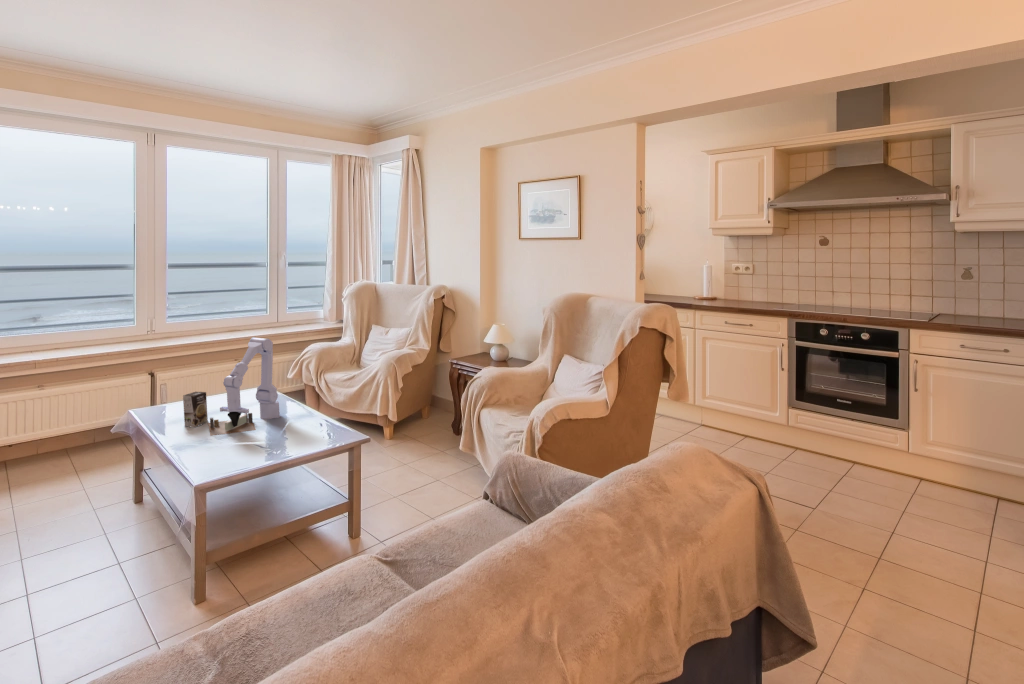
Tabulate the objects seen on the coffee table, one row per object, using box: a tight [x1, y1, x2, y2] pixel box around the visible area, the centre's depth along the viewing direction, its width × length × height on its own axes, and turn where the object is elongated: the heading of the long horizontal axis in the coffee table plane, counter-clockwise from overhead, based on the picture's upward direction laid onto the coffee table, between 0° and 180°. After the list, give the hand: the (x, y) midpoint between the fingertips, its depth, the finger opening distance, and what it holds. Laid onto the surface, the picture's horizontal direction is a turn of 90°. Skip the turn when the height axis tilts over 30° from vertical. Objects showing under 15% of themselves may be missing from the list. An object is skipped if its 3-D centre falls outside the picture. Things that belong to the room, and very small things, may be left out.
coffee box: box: [182, 391, 209, 428], centre depth 283 cm, size 9×6×16 cm
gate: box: [224, 413, 248, 431], centre depth 280 cm, size 15×2×4 cm, turn 167°
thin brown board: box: [207, 412, 257, 437], centre depth 280 cm, size 20×22×6 cm
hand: (235, 426), depth 276 cm, fingers closed
